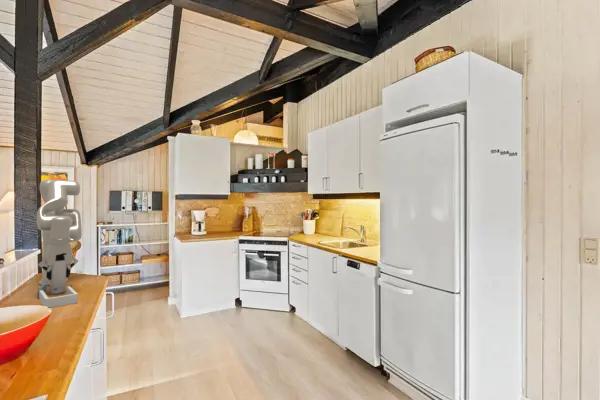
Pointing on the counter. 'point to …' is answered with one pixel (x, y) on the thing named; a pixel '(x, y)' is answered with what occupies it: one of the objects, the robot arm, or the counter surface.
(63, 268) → the travel mug
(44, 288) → the cover gate
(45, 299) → the grey rectangular frame
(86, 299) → the counter surface
